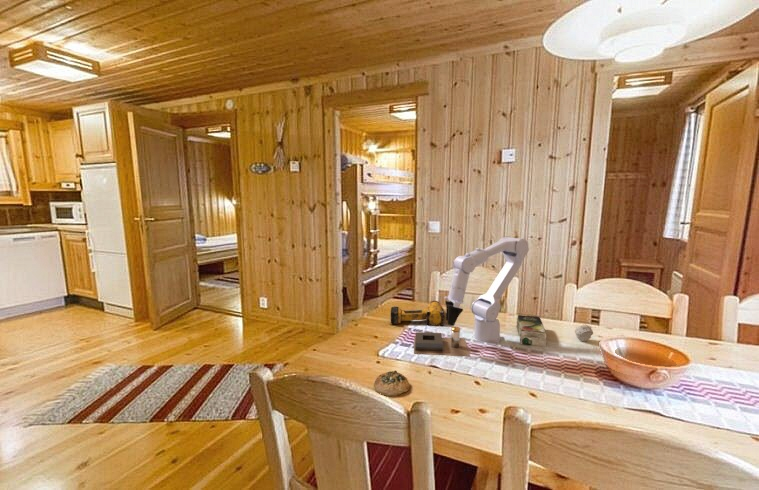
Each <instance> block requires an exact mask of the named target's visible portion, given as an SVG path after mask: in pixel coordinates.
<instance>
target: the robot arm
mask: <svg viewBox="0 0 759 490" xmlns="http://www.w3.org/2000/svg"><path fill="white" fill-rule="evenodd" d="M529 251H530V249H529V243H528V240H527V239H525V238H516V237H509V236H504V237H501V238H499V240H498V241H496V242H494V243H493V244H491V245H489V246H488V247H486V248H482V247H476V248H475V249H474V250H472V251H471V252H466V253H465V254H464V255H458V256H457V257H456V258H455V259H454V260H453V261H452V267H453V271H452V272H453V275H452V279H451V283H450V287H449V291H448V296H447V295H445V296H444V299H445V301H444V302H445V307H446V310H445V320H446V321H447V325H449V326H451V327H455V325H456V322H457V320H458V318H459V316H460V315H461V313H462V312H463V311H464V309H463V308H461V305H462V304H464V298H465V295H466V290H467V285H468V281H469V278H470V273H473V272H474V270H475V269H476V268H477V267H479V266H480V265H483V264H485V263H487V262H488V260H489V258H490V257H492V256H495V255H497V254H500V253H502V255H503V257H504V259H505V263H504V265H503V267H502V268H501V270H500V271H499V273H498V274H497V276H496V277H495V279H494V280H493V282H492V284H491V285H490V287H489V288H488V289H487V291H486V293H484V294H480V295H479V296H478V298H477V299H475V300H474V301H473V302H472V304H471V305H470V306H471V307H470V310H471V313H472V314H473V318H474V330H473V331H474V335H473V336H474V340H476V341H479V342H481V343H482V342H484V343H488V342H489V343H490V342H500V335H501V326H500V325H501V324H500V321H499V319H497V318H498V316H499V313H500V310H501V308H502V305H501V303H500V299H501V298H502V296H503V295H504V293H505V291H506V290H507V288H508V287H509V285H510V284H511V282H512V280H513V279H514V278H515V276H516V274H517V273H518V271H519V269H520V268H521V266H522V265H523V261H524V259H525V258H526V256H527V254H528V253H529Z"/></svg>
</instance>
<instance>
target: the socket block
mask: <svg viewBox="0 0 759 490" xmlns="http://www.w3.org/2000/svg"><path fill="white" fill-rule="evenodd" d="M414 336H415V350H418V351H442V352H443V341H442V337H443V336H442V333H441V332H420V331H419V332H418V331H416V332H415V335H414Z"/></svg>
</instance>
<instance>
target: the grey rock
mask: <svg viewBox="0 0 759 490" xmlns="http://www.w3.org/2000/svg"><path fill="white" fill-rule="evenodd" d="M574 333H575V336H576V339H578V340H579V341H580V342H588V341H589V340H590V339H591V338H592V336H593V335H594V331H593V329H592V326H590V325H588V324H581V325H578V326H577V327H575V330H574Z"/></svg>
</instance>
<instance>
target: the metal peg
mask: <svg viewBox="0 0 759 490" xmlns="http://www.w3.org/2000/svg"><path fill="white" fill-rule="evenodd" d="M450 331H451V334H450V335H451V337H450V338H451V347H453V348H459V341H460V338H461V334H460V333H461V327H458V326H451V330H450Z"/></svg>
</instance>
